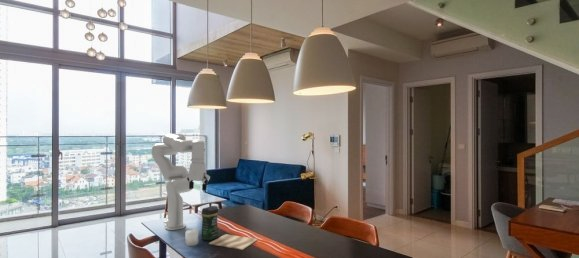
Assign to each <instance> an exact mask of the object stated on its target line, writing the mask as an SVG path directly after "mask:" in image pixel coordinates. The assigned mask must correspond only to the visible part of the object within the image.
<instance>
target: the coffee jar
mask: <svg viewBox="0 0 579 258" xmlns="http://www.w3.org/2000/svg"><path fill="white" fill-rule="evenodd" d="M218 215H219V207H218V206H215V205H211V206H207V207H203V208H202V209H201V220H202V224H201V235H200V237H201V239H202V240H204V241H213V240H216V239H218V238H219V228H218V227H219V226H218Z"/></svg>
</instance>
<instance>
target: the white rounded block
mask: <svg viewBox="0 0 579 258" xmlns="http://www.w3.org/2000/svg"><path fill="white" fill-rule="evenodd" d="M184 233H185V234H184V235H185V238H184V239H185V243H184V245H185V246H187V247H193V246H196V245H198V244H199V229H194V228H193V229H192V228H191V229H187V230H186V231H185V232H184Z"/></svg>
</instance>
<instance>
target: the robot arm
mask: <svg viewBox="0 0 579 258" xmlns="http://www.w3.org/2000/svg"><path fill="white" fill-rule="evenodd" d="M162 142H163V143H161V142H160V143H155V144H154V145H153V146H151V156H152V159H153V161H154V162H155V164H157V167H158V168H159V170H160V172H161V174H162V175H161V176H162V177H163V179H164V180H165V181H167V182H166V184H165V189H166V196H167V219H165V220H164V221H163V223H164V224H166V225H165V227H164V228H165V230H167V231H176V230H181V229H184V228H186V223H184V200H183V197H182V195H180V194H184V193H189V192H191V191H193V189H194V181H198V182H201V183H202V184H201V189H202V192H204V191H206V190H207V187H208V186H207V184H208V183H209V182H210V179H211V176H210V175H209V174H207V165H206V163H205V153H206V151H205V149H206V148H205V146H206V144H205V141H203V140H197V139H186V136H185V135H184V134H182V133H167V134H165V135H164V136H163V138H162ZM178 153H179V154H180V153H183V154H184V153H191V158H190V162H191V163H190V164H189V167H188V168H189V169H187V168H186V167H185V166H184V165H173V163H172V161H171V160H170V159H169V157H167V156H173V155H177V154H178Z"/></svg>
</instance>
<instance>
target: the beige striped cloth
mask: <svg viewBox="0 0 579 258" xmlns="http://www.w3.org/2000/svg"><path fill="white" fill-rule="evenodd" d="M257 241H258V238H253V237H247V236H242V235H241V236H240V235H234V234H227V233H226V234H223V235H222V236H218V237H217V238H215V239H213V240H211V241H210V242H209V243H208V245H211V246H217V247H218V246H219V247H224V248H228V249H236V250H241V251H243V250H245V249H246V248H248V247H249V246H251V245H252V244H254V243H255V242H257Z"/></svg>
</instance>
